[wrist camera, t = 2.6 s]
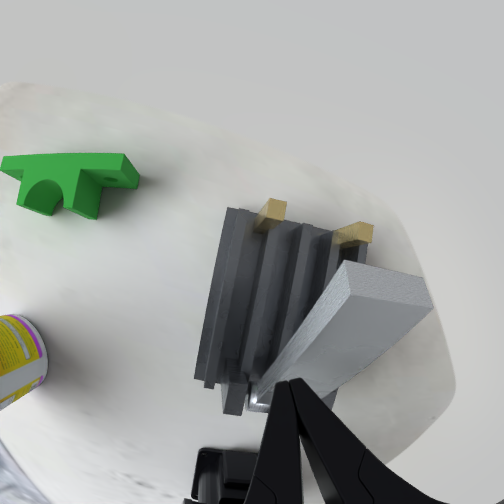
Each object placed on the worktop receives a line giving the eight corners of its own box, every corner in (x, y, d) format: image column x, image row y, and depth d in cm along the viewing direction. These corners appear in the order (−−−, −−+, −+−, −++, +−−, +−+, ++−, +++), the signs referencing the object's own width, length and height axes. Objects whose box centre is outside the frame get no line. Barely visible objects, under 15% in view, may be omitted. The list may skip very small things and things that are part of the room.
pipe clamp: (22, 214, 19) (-9, 203, 15) (31, 173, 20) (3, 156, 15) (132, 223, 20) (111, 210, 16) (140, 175, 21) (123, 152, 16)
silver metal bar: (302, 392, 17) (302, 418, 15) (246, 386, 16) (244, 413, 15) (426, 272, 8) (442, 317, 7) (333, 249, 8) (341, 302, 7)
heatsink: (321, 388, 21) (358, 425, 14) (195, 371, 20) (187, 412, 13) (352, 240, 22) (401, 228, 15) (226, 211, 21) (231, 183, 14)
